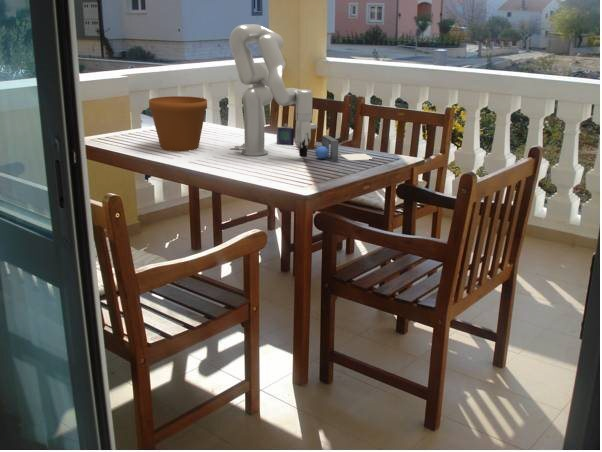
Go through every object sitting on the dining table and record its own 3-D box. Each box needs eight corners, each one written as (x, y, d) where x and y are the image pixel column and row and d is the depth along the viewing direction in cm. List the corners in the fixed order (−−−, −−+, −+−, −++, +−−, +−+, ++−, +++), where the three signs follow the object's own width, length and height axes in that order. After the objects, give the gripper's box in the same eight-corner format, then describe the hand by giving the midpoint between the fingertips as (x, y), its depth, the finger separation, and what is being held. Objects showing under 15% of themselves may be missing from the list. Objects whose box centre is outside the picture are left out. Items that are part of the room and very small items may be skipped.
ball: (332, 153, 323) (324, 162, 324) (328, 150, 329) (320, 160, 329) (323, 144, 321) (315, 154, 321) (320, 142, 326) (311, 152, 327)
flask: (276, 144, 359) (276, 123, 356) (278, 143, 361) (278, 122, 358) (292, 145, 356) (293, 124, 353) (294, 144, 359) (295, 123, 355)
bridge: (331, 162, 320) (332, 141, 317) (321, 155, 334) (321, 135, 331) (337, 161, 321) (338, 140, 318) (327, 155, 334) (327, 135, 331)
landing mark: (349, 160, 323) (349, 160, 323) (339, 155, 335) (339, 154, 335) (375, 159, 327) (375, 159, 327) (364, 153, 339) (364, 153, 339)
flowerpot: (140, 150, 336) (138, 101, 329) (166, 140, 362) (164, 95, 355) (194, 155, 329) (192, 105, 322) (216, 144, 355) (215, 98, 348)
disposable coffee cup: (315, 149, 347) (315, 125, 343) (296, 148, 349) (296, 124, 345) (318, 146, 356) (319, 122, 352) (300, 145, 357) (300, 121, 354)
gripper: (291, 114, 323) (291, 153, 329) (300, 119, 310) (300, 160, 315) (306, 114, 325) (306, 153, 331) (316, 119, 312) (315, 159, 317)
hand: (303, 156), depth 323 cm, fingers closed
